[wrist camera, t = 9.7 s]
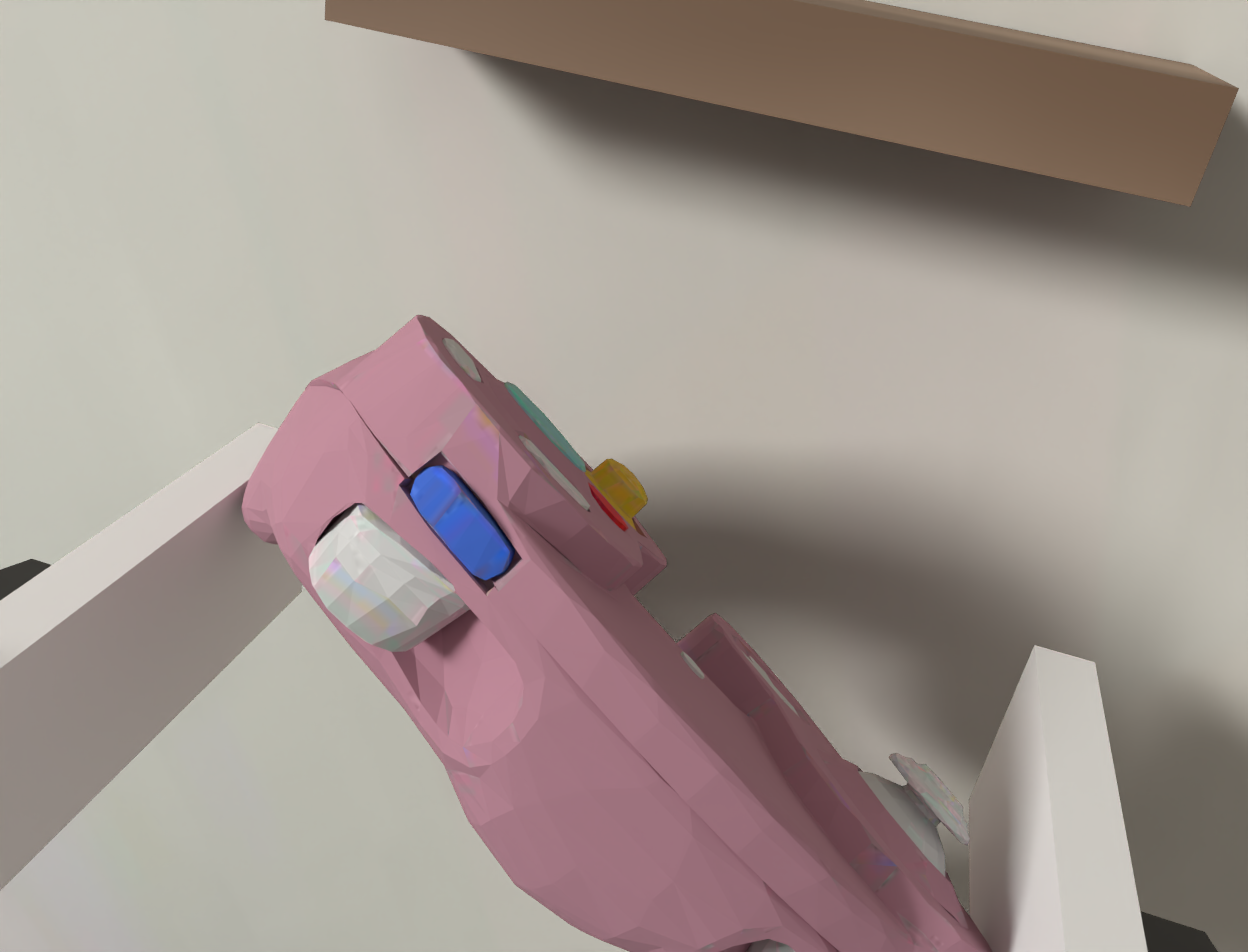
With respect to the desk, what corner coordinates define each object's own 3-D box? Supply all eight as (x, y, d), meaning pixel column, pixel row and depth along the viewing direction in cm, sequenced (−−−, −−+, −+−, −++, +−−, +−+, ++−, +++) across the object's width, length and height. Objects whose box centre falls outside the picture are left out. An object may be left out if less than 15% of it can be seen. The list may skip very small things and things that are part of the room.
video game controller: (911, 738, 17) (1165, 1041, 10) (691, 926, 17) (793, 1346, 10) (478, 251, 15) (432, 221, 8) (240, 467, 16) (5, 609, 9)
